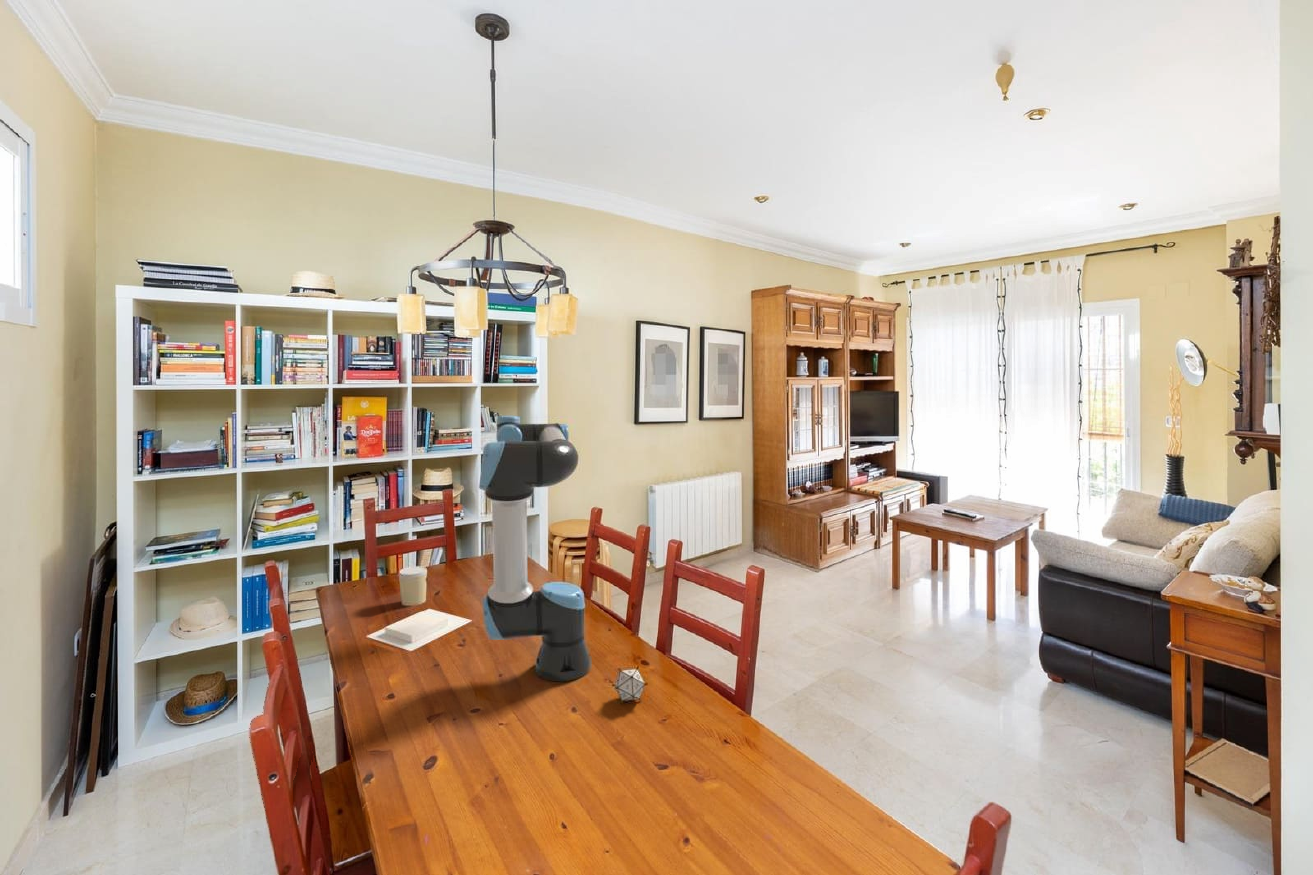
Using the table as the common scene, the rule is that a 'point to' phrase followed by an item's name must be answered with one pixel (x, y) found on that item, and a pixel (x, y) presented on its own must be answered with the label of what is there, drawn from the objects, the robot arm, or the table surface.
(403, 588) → the coffee cup
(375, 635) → the mat
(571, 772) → the table surface
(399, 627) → the tile
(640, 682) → the game die
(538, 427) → the robot arm
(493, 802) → the table surface
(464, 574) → the table surface
